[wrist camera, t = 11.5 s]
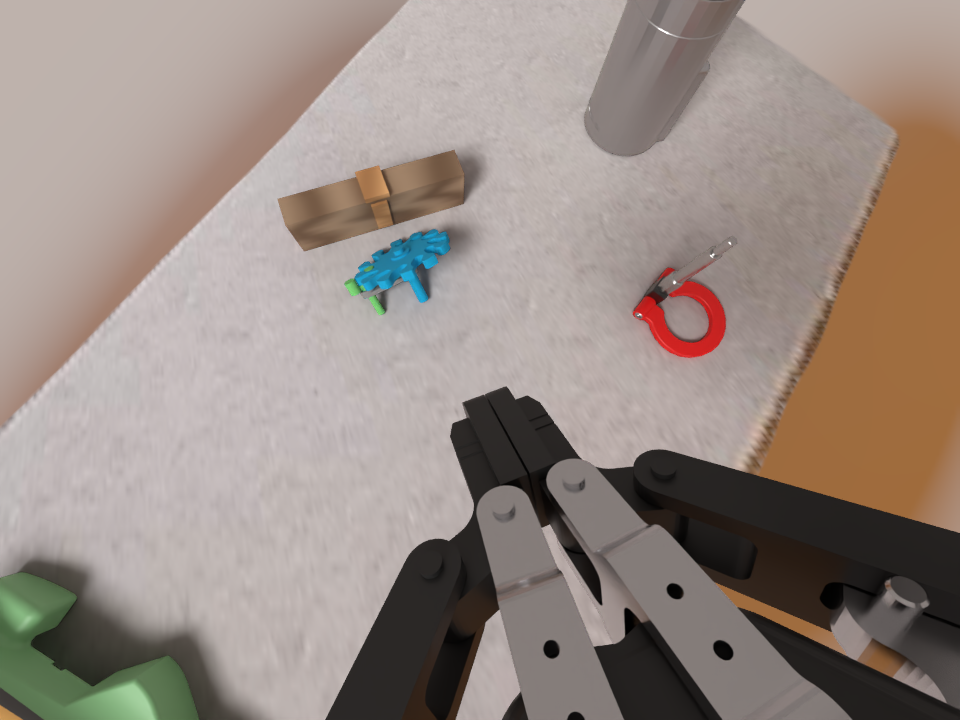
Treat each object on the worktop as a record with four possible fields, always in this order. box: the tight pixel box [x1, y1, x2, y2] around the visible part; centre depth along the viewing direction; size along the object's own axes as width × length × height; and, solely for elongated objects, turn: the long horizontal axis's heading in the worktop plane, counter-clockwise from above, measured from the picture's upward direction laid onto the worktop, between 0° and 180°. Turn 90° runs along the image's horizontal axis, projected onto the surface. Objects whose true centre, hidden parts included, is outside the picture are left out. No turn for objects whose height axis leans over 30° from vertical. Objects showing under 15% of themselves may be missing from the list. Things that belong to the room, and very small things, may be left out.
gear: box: [344, 229, 450, 315], centre depth 42 cm, size 11×6×10 cm
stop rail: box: [278, 150, 464, 251], centre depth 43 cm, size 18×3×6 cm, turn 111°
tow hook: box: [633, 237, 737, 358], centre depth 39 cm, size 8×13×9 cm
